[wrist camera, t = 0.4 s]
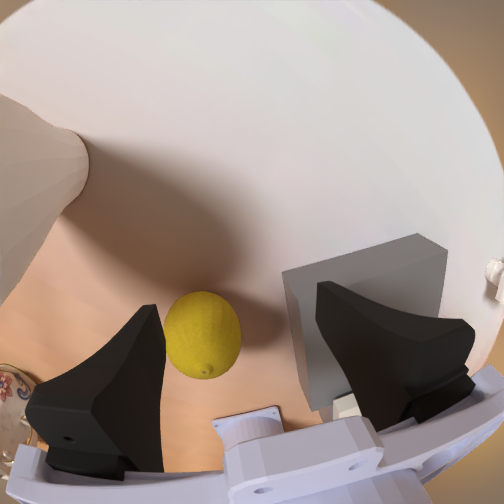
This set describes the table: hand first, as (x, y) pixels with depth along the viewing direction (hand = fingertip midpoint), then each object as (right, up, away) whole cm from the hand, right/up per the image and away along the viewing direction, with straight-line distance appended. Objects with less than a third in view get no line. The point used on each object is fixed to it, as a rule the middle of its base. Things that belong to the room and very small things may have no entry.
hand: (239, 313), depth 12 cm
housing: (+12, -7, +16) cm, 21 cm away
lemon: (-4, -1, +11) cm, 12 cm away
